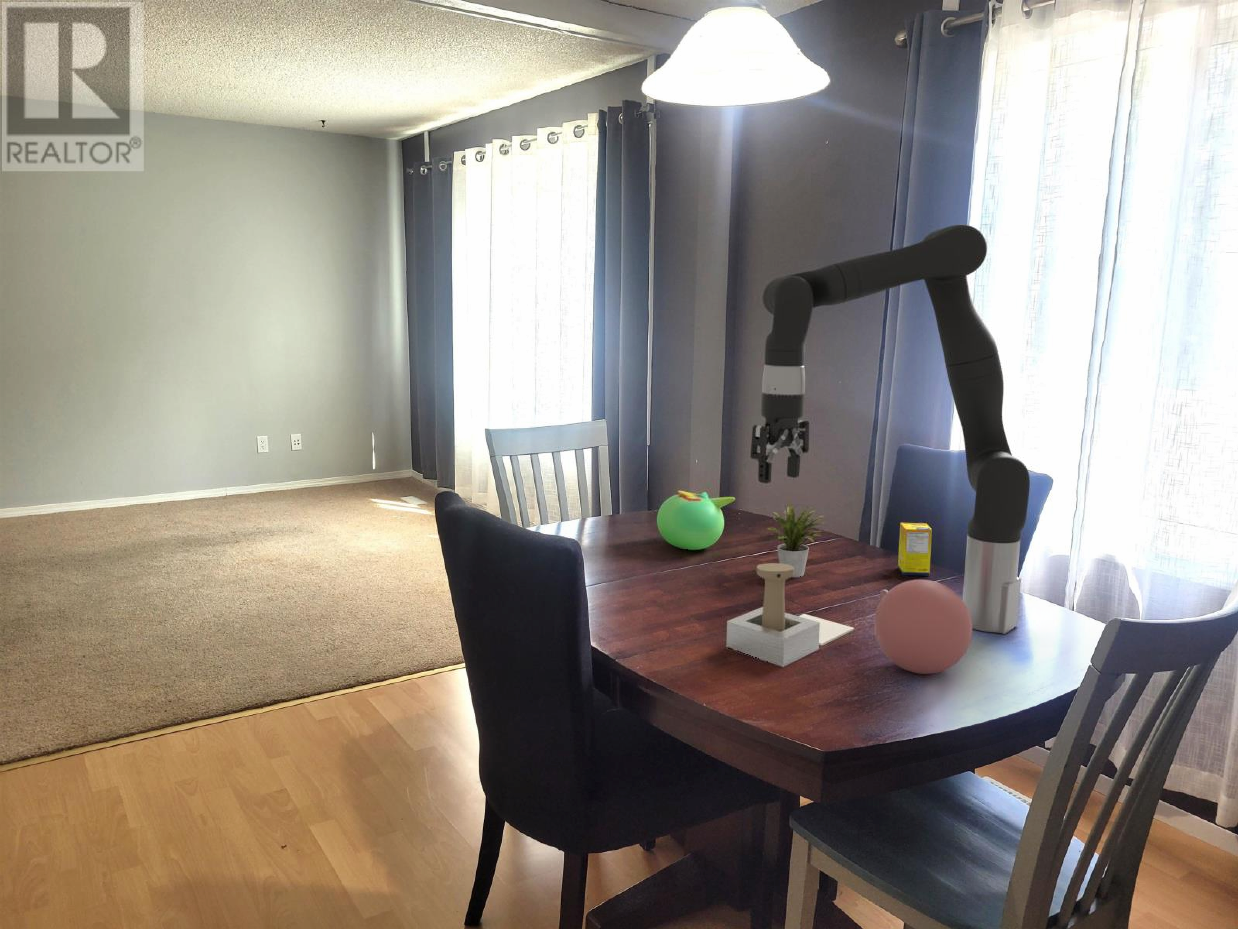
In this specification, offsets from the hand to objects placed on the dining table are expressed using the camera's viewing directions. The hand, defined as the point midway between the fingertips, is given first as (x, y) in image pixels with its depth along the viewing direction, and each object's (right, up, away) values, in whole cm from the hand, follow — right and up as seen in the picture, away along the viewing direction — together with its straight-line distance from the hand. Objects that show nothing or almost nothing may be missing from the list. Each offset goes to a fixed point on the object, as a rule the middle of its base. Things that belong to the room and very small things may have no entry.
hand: (779, 479), depth 163 cm
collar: (-2, -30, -4) cm, 30 cm away
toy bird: (-11, -18, +62) cm, 65 cm away
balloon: (+21, -31, -11) cm, 39 cm away
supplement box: (+38, -22, +42) cm, 61 cm away
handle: (-2, -30, -4) cm, 30 cm away
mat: (+7, -28, +5) cm, 30 cm away
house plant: (+10, -22, +39) cm, 46 cm away
